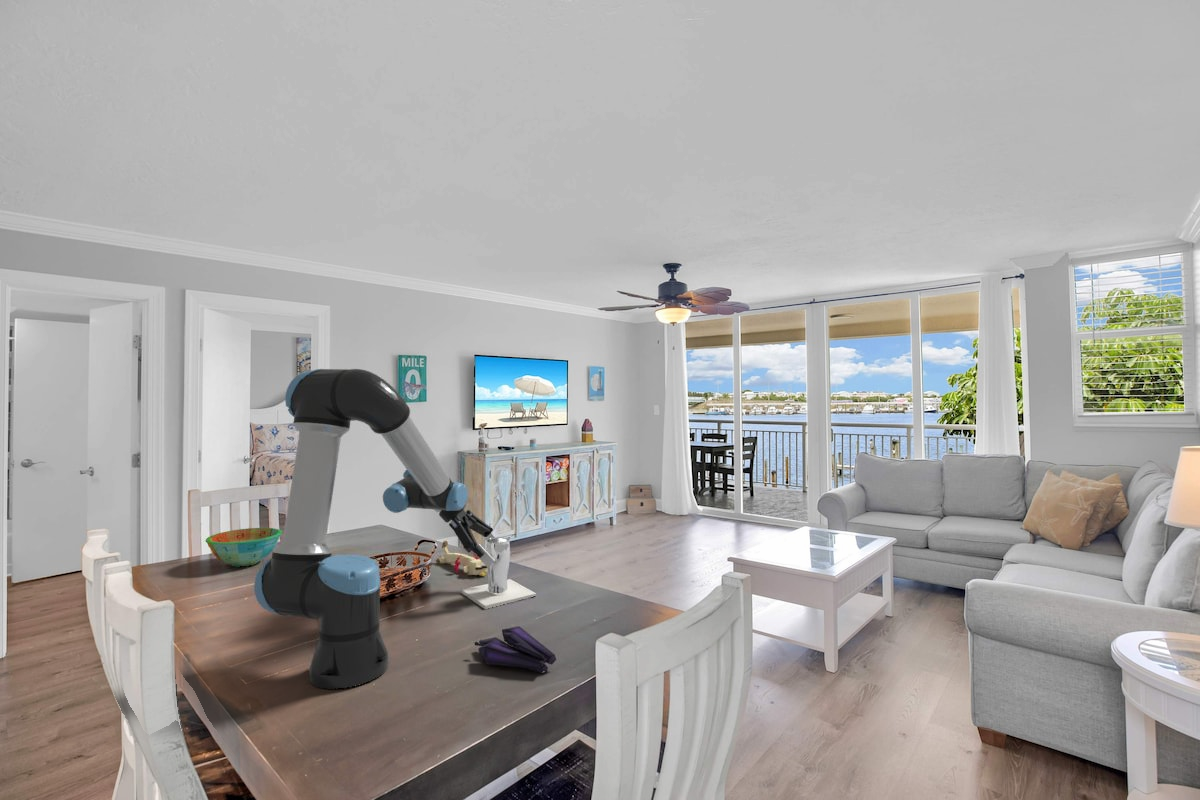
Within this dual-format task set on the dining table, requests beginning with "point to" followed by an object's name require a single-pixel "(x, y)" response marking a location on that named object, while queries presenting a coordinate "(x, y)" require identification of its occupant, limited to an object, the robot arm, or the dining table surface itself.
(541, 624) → the dining table surface
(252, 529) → the bowl
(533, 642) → the crystal
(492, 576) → the silver tall cylinder
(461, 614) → the dining table surface
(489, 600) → the mat
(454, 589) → the dining table surface
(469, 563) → the cream toy animal
